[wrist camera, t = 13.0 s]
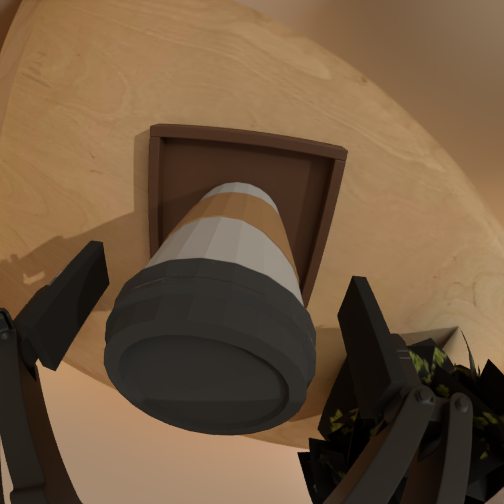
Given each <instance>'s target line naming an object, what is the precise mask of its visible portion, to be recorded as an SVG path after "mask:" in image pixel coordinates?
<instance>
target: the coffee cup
mask: <svg viewBox="0 0 504 504" xmlns="http://www.w3.org/2000/svg"><path fill="white" fill-rule="evenodd" d="M105 341H106V347H105V350H104V366H105V368H106V371H107V374H108V377H109V379H110V380H111V382H112V383H113V385H114V386H115V387H116V389H117V390H118V391H119V393H120V394H122V395H123V396H124V397H125V398H126V399H127V400H128V401H129V402H130V403H132V404H133V405H134V406H135V407H137V408H138V409H140V410H142V411H143V412H145V413H146V414H148V415H150V416H151V417H154V418H156V419H158V420H160V421H162V422H164V423H167V424H169V425H172V426H175V427H178V428H182V429H185V430H188V431H193V432H199V433H204V434H210V435H211V434H212V435H243V434H252V433H256V432H260V431H264V430H268V429H271V428H273V427H276V426H278V425H280V424H282V423H284V422H286V421H288V420H289V419H290V418H291V417H293V416H294V415H295V414H296V413H297V412H299V410H300V408H301V407H302V405H303V403H304V402H305V400H306V392H307V388H308V386H309V384H310V383H311V381H312V379H313V377H314V375H315V365H316V350H315V344H316V332H315V329H314V326H313V323H312V320H311V317H310V314H309V312H308V311H307V310H306V309H305V307H304V304H303V301H302V297H301V293H300V289H299V278H298V274H297V270H296V267H295V263H294V260H293V256H292V253H291V249H290V246H289V242H288V239H287V235H286V232H285V228H284V226H283V223H282V220H281V218H280V215H279V213H278V210H277V207H276V205H275V204H274V202H273V201H272V199H271V198H270V197H269V196H268V195H267V194H266V193H265V192H263V191H262V190H261V189H259V188H257V187H255V186H253V185H250V184H246V183H239V182H234V183H225V184H223V185H220V186H218V187H215V188H214V189H212V190H211V191H210V192H208V193H207V194H206V195H205V196H204V197H203V198H202V199H201V200H200V202H199V203H198V204H196V205H195V206H194V207H193V208H192V209H191V210H190V211H189V212H188V213H187V214H186V216H185V217H184V218H183V219H182V220H181V221H180V222H179V224H178V225H177V226H176V227H175V228H174V229H173V230H172V232H171V233H170V234H169V235H168V237H167V238H166V239H165V241H164V242H163V244H162V245H161V247H160V248H159V250H158V251H157V252H156V253H155V255H154V256H153V257H152V258H151V260H150V261H149V262H148V263H147V265H146V266H145V267H144V269H143V270H141V271H140V272H139V273H138V274H136V275H135V276H134V277H132V278H131V279H130V280H129V281H127V282H126V283H125V284H124V286H123V288H122V290H121V291H120V293H119V295H118V297H117V298H116V300H115V304H114V308H113V310H112V312H111V313H110V315H109V317H108V319H107V321H106V332H105Z"/></svg>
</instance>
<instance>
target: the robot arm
mask: <svg viewBox="0 0 504 504" xmlns="http://www.w3.org/2000/svg"><path fill="white" fill-rule="evenodd" d="M108 285H109V278H108V273H107V267H106V261H105V254H104V248H103V242H98V241H90V242H89V243H88V244H87V245H86V246H85V247H84V248H83V249H82V250H81V252H80V253H79V254H78V255H77V256H76V257H75V258H74V259H73V260H72V261H71V262H70V263H69V264H68V265H67V267H66V268H65V269H64V270H63V271H62V272H61V273H60V274H59V275H58V277H57V278H56V279H55V280H54V281H53V282H52V283H51V285H45V286H44V287H42V288H41V289H39V290H38V291H37V292H36V293H35V295H34V296H33V298H31V299H30V301H29V302H28V304H26V305H25V307H24V308H23V309H22V310H21V312H20V313H19V314H18V315H17V317H16V318H15V319H14V321H13V320H12V318H11V316H10V314H9V312H8V311H7V310H6V309H4V308H0V435H1V440H2V445H3V449H4V454H5V458H6V462H7V465H8V469H9V473H10V476H11V480H12V483H13V491H12V492H11V493H10V501H11V504H83V503H82V502H81V501H80V499H79V498H78V496H77V494H76V491H75V489H74V487H73V485H72V483H71V480H70V478H69V475H68V473H67V471H66V468H65V465H64V463H63V461H62V458H61V455H60V452H59V450H58V446H57V443H56V440H55V437H54V434H53V431H52V428H51V424H50V421H49V417H48V413H47V409H46V405H45V401H44V397H43V393H42V388H41V383H40V378H39V373H38V368H37V366H36V361H37V359H38V358H39V360H40V362H41V363H42V365H43V366H44V367H46V368H49V369H51V370H54V371H56V369H57V368H58V366H59V364H60V362H61V360H62V359H63V357H64V355H65V353H66V352H67V350H68V348H69V347H70V345H71V343H72V342H73V340H74V338H75V337H76V335H77V333H78V332H79V330H80V328H81V327H82V325H83V324H84V322H85V320H86V319H87V317H88V316H89V314H90V312H91V311H92V309H93V308H94V306H95V305H96V303H97V302H98V300H99V299H100V297H101V296H102V294H103V293H104V291H105V290H106V288H107V287H108ZM337 317H338V321H339V324H340V328H341V332H342V336H343V340H344V344H345V348H346V353H347V357H348V361H349V365H350V370H351V374H352V379H353V383H354V388H355V392H356V397H357V402H358V407H359V412H360V417H361V419H368V418H377V417H378V416H379V415H380V414H381V412H382V411H383V413H384V417H385V418H384V419H383V420H382V421H381V422H380V423H379V424H378V425H377V426H376V427H375V428H374V430H376V429H377V430H376V431H375V433H374V434H373V436H372V438H371V439H370V441H369V442H368V444H367V445H366V447H365V448H364V450H363V451H362V453H361V454H360V456H359V457H358V459H357V460H356V462H355V463H354V464H353V466H352V467H351V468H350V470H349V471H348V473H347V474H346V475H345V477H344V478H343V479H342V480H341V482H340V483H339V484H338V486H337V487H336V488H335V489H334V491H333V492H332V493H331V494H330V495H329V497H328V498H327V499H326V500H325V501H324V503H323V504H387V503H388V502H389V500H390V498H391V497H392V495H393V493H394V492H395V490H396V488H397V487H398V485H399V483H400V481H401V479H402V478H403V476H404V474H405V472H406V470H407V468H408V466H409V464H410V462H411V460H412V463H411V467H410V471H409V475H408V479H407V482H406V486H405V489H404V493H403V496H402V499H401V503H400V504H464V501H465V495H466V490H467V483H468V476H469V468H470V458H471V446H472V421H473V408H472V403H471V401H470V399H469V398H468V397H467V396H466V395H465V394H463V393H455V394H453V395H452V396H451V398H450V399H446V398H442V397H437V396H435V394H434V393H433V391H432V390H431V389H430V388H429V387H428V386H425V385H422V383H421V381H420V378H419V376H418V373H417V370H416V368H415V365H414V363H413V360H412V359H411V355H410V353H409V352H408V348H407V346H406V343H405V341H404V340H403V339H402V338H401V337H400V336H399V334H390V332H389V329H388V327H387V324H386V322H385V320H384V317H383V315H382V312H381V310H380V308H379V306H378V303H377V301H376V299H375V296H374V294H373V292H372V290H371V288H370V285H369V283H368V281H367V279H366V277H360V276H352V279H351V281H350V284H349V287H348V289H347V292H346V295H345V297H344V300H343V302H342V305H341V307H340V310H339V312H338V315H337ZM0 504H5V502H4V495H3V486H2V476H1V462H0Z"/></svg>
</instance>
